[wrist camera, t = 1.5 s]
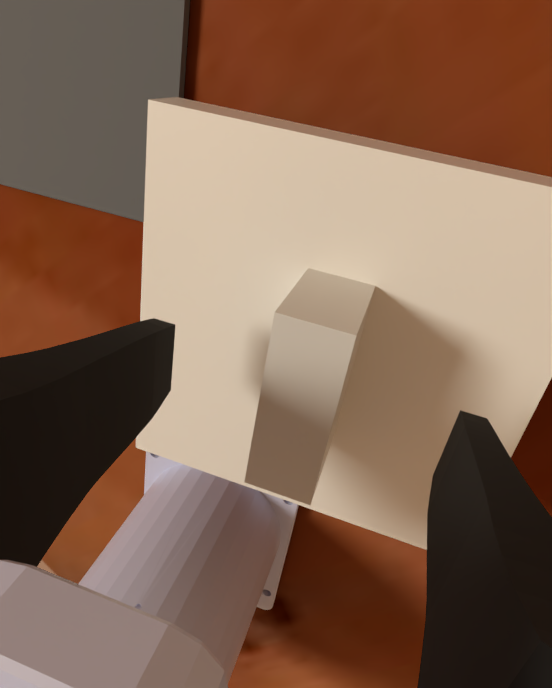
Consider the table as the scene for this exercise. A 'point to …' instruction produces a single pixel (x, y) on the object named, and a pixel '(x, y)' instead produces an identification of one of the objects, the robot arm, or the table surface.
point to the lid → (338, 307)
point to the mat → (86, 95)
